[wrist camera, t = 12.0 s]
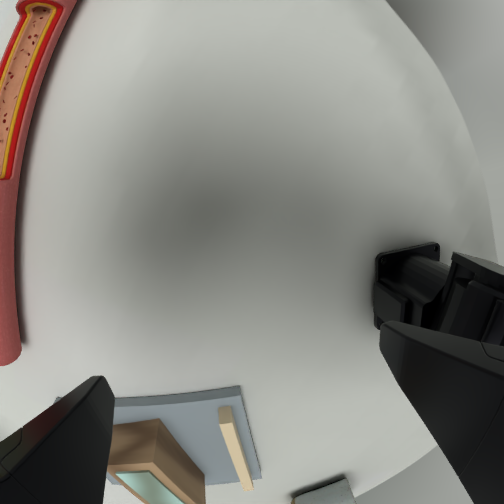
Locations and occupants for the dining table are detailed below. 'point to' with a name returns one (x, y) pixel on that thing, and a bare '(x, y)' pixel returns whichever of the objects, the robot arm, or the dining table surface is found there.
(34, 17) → the blood vessel
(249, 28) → the dining table surface
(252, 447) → the grey flat panel
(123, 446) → the frame
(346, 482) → the ceramic mug
